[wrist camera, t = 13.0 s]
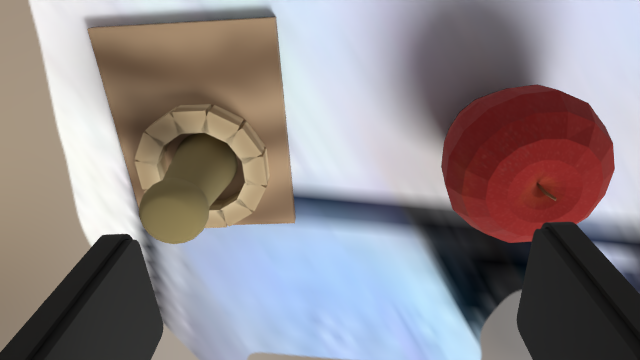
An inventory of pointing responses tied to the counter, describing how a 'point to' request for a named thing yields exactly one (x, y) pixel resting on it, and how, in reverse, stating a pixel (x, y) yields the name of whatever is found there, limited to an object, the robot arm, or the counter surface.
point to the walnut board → (200, 91)
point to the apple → (526, 161)
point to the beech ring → (222, 128)
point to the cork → (188, 189)
